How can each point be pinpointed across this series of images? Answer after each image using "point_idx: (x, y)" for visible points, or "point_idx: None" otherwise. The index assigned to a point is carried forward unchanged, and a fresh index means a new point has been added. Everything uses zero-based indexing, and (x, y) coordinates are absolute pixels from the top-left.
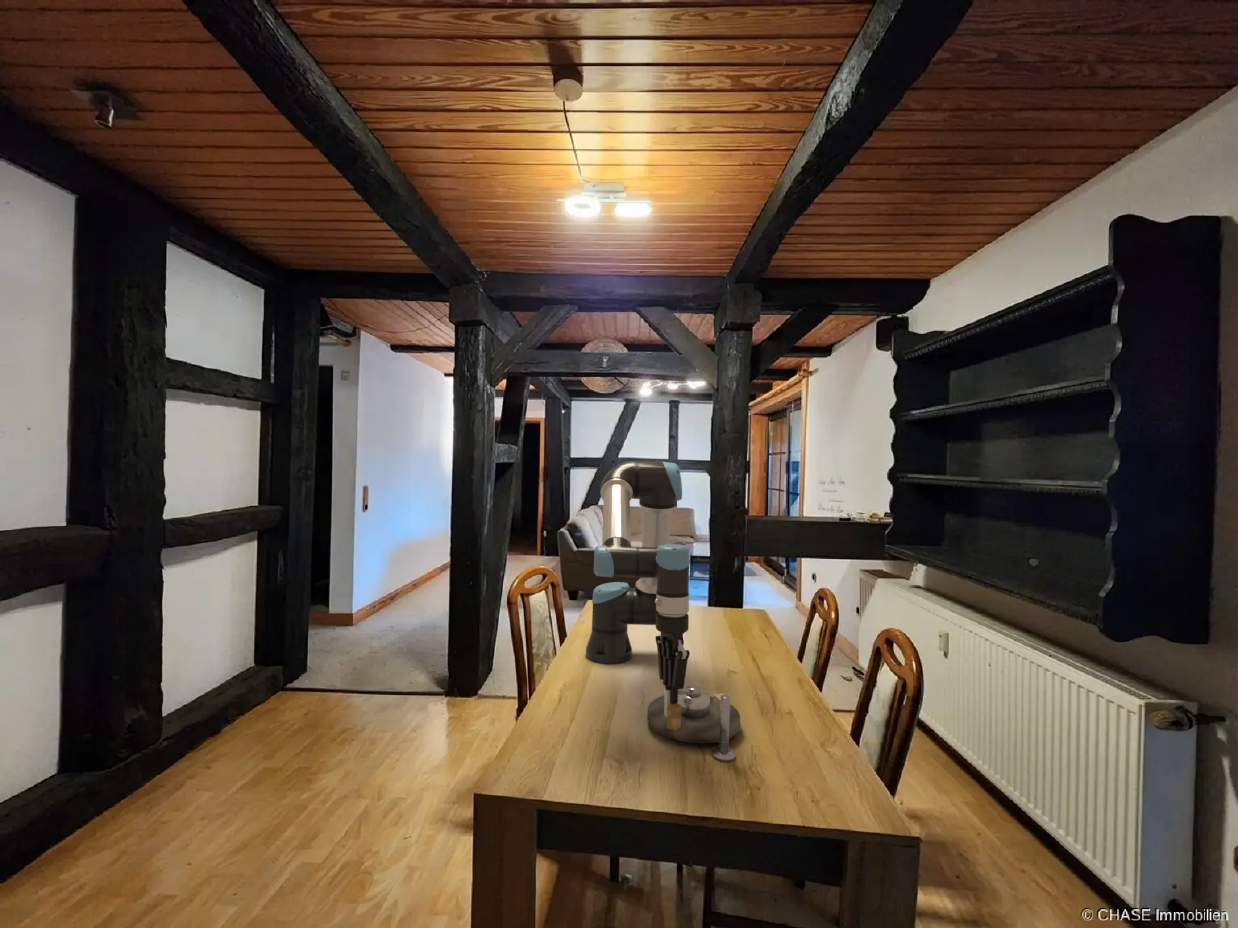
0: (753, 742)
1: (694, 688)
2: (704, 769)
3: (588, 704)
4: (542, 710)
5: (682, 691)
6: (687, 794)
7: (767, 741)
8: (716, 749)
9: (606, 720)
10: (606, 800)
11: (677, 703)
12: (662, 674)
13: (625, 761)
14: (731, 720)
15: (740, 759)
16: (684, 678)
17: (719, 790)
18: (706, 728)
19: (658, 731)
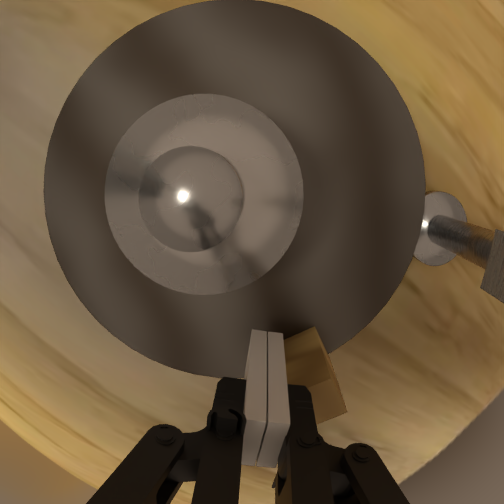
0: (410, 77)
1: (200, 199)
2: (441, 316)
3: (21, 375)
4: (45, 448)
5: (136, 229)
6: (464, 390)
7: (418, 39)
8: (419, 240)
9: (99, 394)
10: None
11: (285, 367)
12: (175, 490)
13: None
14: (367, 94)
15: (461, 192)
16: (404, 499)
17: (497, 330)
18: (375, 240)
19: None
